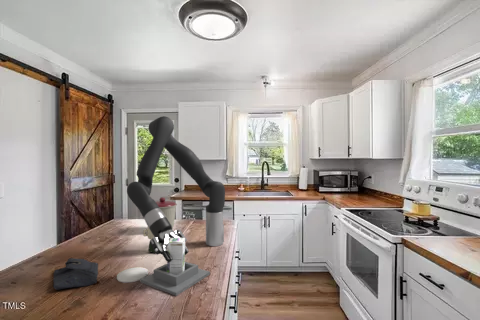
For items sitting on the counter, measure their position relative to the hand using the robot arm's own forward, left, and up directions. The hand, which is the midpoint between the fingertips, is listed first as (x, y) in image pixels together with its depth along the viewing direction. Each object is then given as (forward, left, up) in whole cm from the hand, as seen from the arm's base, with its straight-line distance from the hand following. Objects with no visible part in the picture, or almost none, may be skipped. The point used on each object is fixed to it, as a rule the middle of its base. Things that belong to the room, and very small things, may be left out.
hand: (179, 257), depth 93 cm
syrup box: (0, -1, -8) cm, 8 cm away
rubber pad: (+7, -17, -8) cm, 20 cm away
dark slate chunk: (+19, -35, -9) cm, 41 cm away
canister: (-42, -55, -8) cm, 70 cm away
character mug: (-15, -30, -8) cm, 35 cm away
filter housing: (0, -1, -8) cm, 8 cm away
